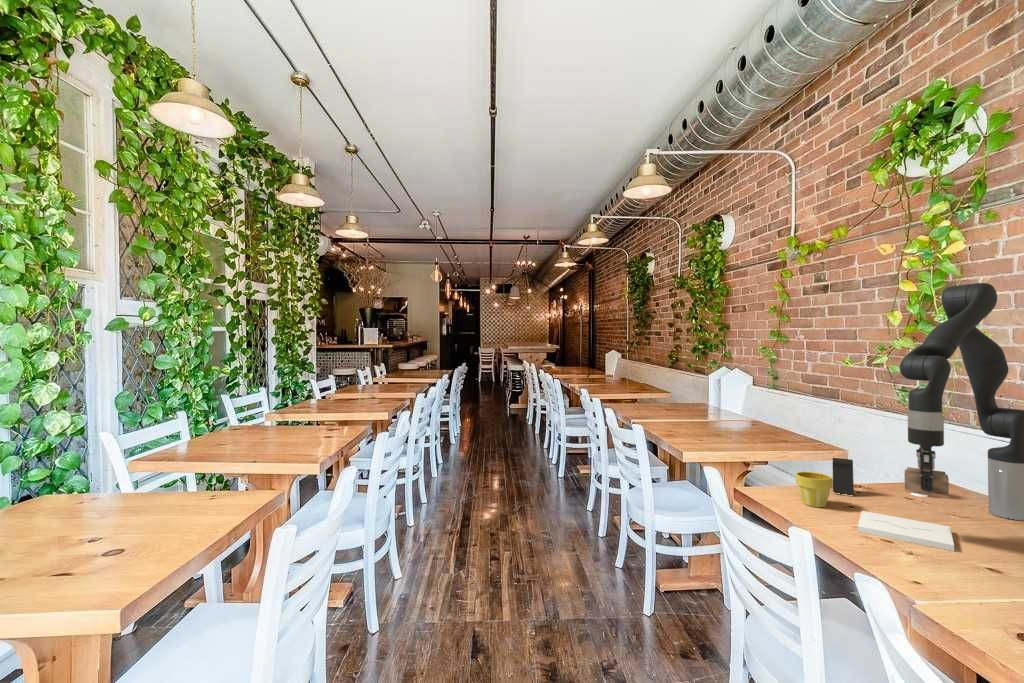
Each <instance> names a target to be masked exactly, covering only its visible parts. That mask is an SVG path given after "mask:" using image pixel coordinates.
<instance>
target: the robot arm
mask: <svg viewBox="0 0 1024 683" xmlns="http://www.w3.org/2000/svg"><path fill="white" fill-rule="evenodd" d="M996 290H997V289H996V288H995V287H994V286H993V285H992V284H990V283H988V282H976V283H969V284H961V285H960V284H959V285H952V286H951V285H950V286H948V287H945V288H944V289H943V291H942V292H941V305H942V309H943V312H944V314H945V315H946V318H947V320H945V321H943V322H942V323H940V324H938V325H937V326H936V327H934V328H933V329H932V330H931V331H930V332H929V334H927V337H926V338H925V340H923V343H921V344H920V345H918V346H917V347H915V348H914V349H912V350H911V351H910V352H909V353H907V354H906V355H905V356H904V357H903V358H902V359H901V362H900V364H899V372H900V374H901V376H902V377H903V378H905V379H907V380H910V381H924V382H925V381H927V382H928V383H927V385H926V386H925V387H924V388H915V389H911V390H910V391H909V392H908V414H907V442H908V443H910V444H913V445H917V446H919V447H918V449H915V450H916V451H915V452H916V458H917V468H918V467H919V469H920V475H921V489H922V490H925V491H932V477H933V470H935V469H936V466H935V464H936V463H935V459H936V457H937V456H936V451H935V450H932V448H933V447H943V446H944V445H945V432H944V431H945V429H944V428H945V423H944V422H945V421H944V420H945V419H944V416H943V415H944V414H943V396H944V391H945V388H946V385H947V382H948V380H949V378H950V374H951V371H952V369H951V368H952V367H951V363H950V361H949V359H950V358H952V356H953V355H954V354H955V352H956V350H957V349H958V348H959V351H960V355H961V360H962V362H963V366H964V368H965V371H966V372H965V373H966V374H967V377H968V379H969V383H970V386H971V389H972V393H973V396H974V403H975V407H976V408H975V409H976V413H977V418H978V424H979V426H980V429H981V431H982V432H984V434H986V435H987V436H991V437H997V438H1003V439H1010V440H1009V444H1008V445H1004V446H1000V447H999V446H997V447H991V448H989V449H988V450H987V487H988V488H987V493H988V495H987V496H988V497H987V498H988V504H987V505H988V513H989V514H992V515H993V516H996V517H998V518H999V517H1000V518H1003V519H1008V518H1009V520H1013V519H1014V521H1021V522H1022V521H1024V409H1017V408H1009V407H1008V408H1007V407H1006V408H1005V407H999V406H998V405H997V402H996V394H997V391H998V390H999V388H1000V387H1001V386H1002V384H1003V383H1004V381H1005V380H1006V378H1007V377H1008V375H1009V365H1008V363H1007V362H1008V361H1007V359H1006V354H1005V352H1004V350H1003V349H1002V347H1001V346H1000V345H999V344H998V343H996V342H995V341H994V340H993V339H992V338H990V337H988V335H986V334H985V333H984V332H982V331H981V330H980V329H979V328H977V326H978V325H979V324H980V323H981V322H982V321H983V320H984V319H985V318H987V316H988V315H989V314H990V313H992V312H993V310H994V309H995V307H996V305H997V303H998V294H997V291H996ZM923 469H927V470H930V472H928V471H923Z"/></svg>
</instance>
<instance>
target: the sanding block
mask: <svg viewBox="0 0 1024 683" xmlns="http://www.w3.org/2000/svg"><path fill="white" fill-rule="evenodd" d="M923 471H928V472H930V470H927V469H923ZM949 479H950V478H949V476H948V474H946V472H945V471H940V470H935V469H933V477H932V491H925V490H922V489H921V475H920V469H919V468H918V467H915V468H911V467H909V466H907V467H906V469H904V492H905V493H910V494H911V493H916V494H922V495H928V497H935V498H943V499H949V498H950V490H949V489H950V481H949Z"/></svg>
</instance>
